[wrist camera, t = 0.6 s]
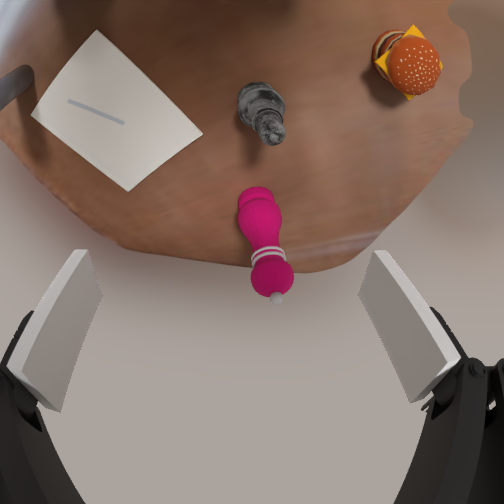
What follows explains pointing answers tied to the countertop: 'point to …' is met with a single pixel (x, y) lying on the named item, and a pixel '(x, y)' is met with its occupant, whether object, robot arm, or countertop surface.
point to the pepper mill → (265, 243)
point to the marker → (15, 84)
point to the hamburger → (407, 61)
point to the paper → (113, 114)
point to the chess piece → (262, 111)
